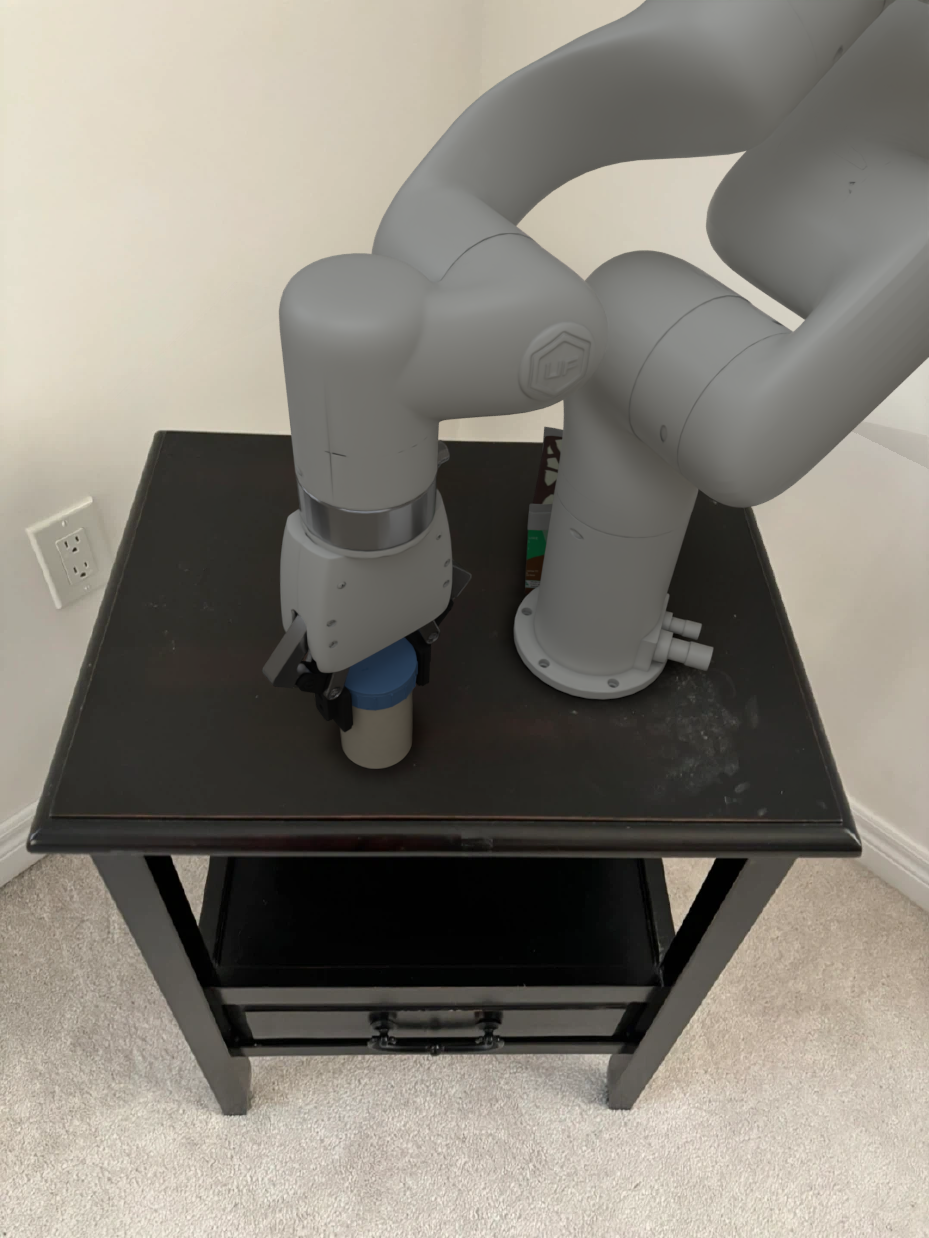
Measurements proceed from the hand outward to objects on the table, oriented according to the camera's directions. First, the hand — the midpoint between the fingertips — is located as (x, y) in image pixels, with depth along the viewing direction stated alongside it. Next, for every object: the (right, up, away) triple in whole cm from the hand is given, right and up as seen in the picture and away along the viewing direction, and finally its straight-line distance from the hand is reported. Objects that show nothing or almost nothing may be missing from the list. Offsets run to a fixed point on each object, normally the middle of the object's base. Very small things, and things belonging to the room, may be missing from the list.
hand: (374, 692), depth 64 cm
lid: (0, +2, -2) cm, 3 cm away
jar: (0, -4, +4) cm, 6 cm away
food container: (+15, +10, +18) cm, 25 cm away
